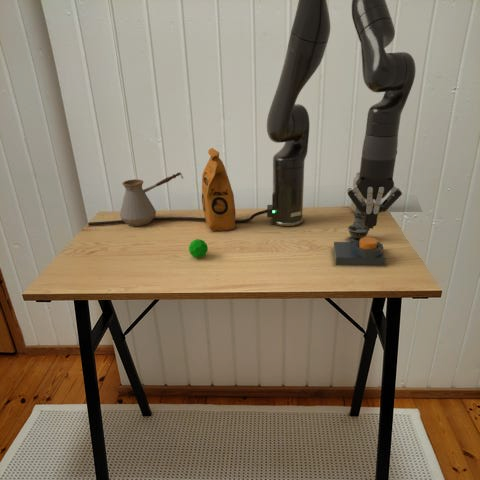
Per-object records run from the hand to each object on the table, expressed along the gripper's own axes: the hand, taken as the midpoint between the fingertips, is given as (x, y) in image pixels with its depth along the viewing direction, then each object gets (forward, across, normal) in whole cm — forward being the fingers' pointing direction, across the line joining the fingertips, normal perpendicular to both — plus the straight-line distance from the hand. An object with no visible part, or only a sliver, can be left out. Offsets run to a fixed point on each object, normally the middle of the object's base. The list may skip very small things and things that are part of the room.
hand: (369, 227), depth 112 cm
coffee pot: (+10, +64, -27) cm, 70 cm away
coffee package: (+10, +42, -24) cm, 49 cm away
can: (+9, -3, -37) cm, 39 cm away
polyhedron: (+9, +44, 0) cm, 45 cm away
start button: (+5, 0, 0) cm, 5 cm away
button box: (+9, +2, -1) cm, 9 cm away
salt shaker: (+9, +1, -13) cm, 16 cm away
